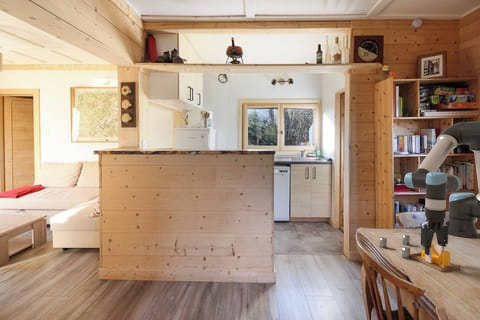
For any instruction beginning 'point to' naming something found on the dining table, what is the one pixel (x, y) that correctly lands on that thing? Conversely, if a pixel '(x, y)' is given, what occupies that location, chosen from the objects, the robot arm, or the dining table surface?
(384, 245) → the spacers
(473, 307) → the dining table surface
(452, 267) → the board
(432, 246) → the pipe clamp
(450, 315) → the dining table surface
